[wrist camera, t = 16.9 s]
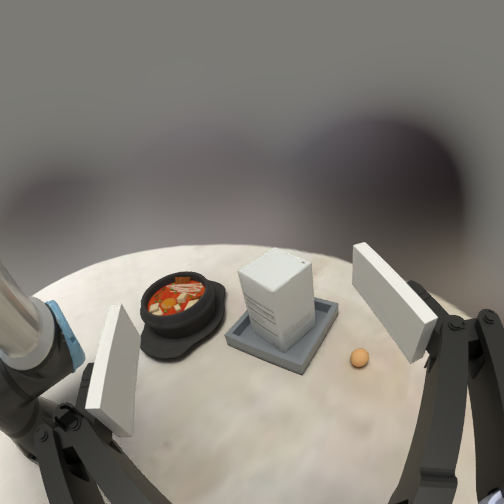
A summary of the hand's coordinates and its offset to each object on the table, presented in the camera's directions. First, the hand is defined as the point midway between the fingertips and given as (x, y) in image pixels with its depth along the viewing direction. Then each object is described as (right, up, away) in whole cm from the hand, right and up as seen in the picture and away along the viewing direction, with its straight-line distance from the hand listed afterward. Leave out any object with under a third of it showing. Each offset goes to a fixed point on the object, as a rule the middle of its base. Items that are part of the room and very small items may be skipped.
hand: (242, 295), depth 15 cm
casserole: (-14, -13, +46) cm, 50 cm away
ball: (+19, -17, +29) cm, 38 cm away
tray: (+7, -13, +39) cm, 42 cm away
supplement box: (+7, -13, +39) cm, 41 cm away
